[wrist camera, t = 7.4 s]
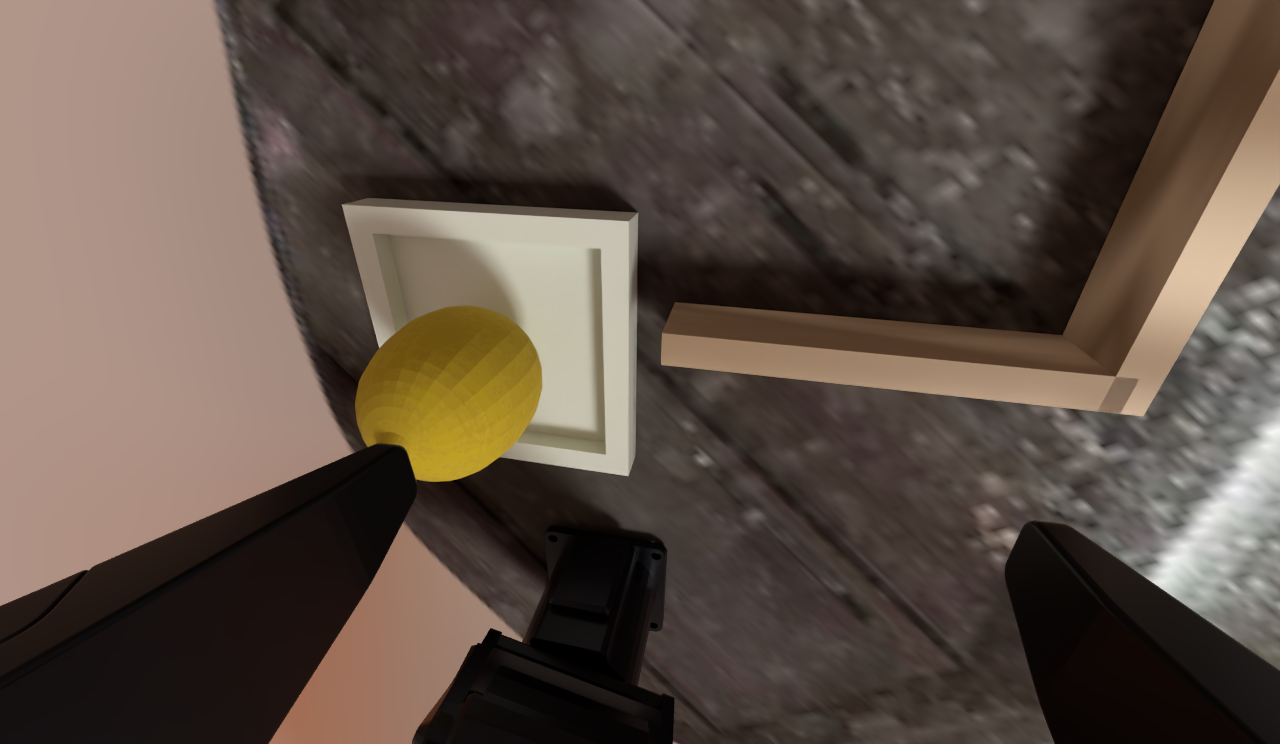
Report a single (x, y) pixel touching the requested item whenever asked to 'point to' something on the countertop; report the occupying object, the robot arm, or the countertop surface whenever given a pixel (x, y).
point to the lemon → (451, 391)
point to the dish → (522, 305)
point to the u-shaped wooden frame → (1117, 286)
